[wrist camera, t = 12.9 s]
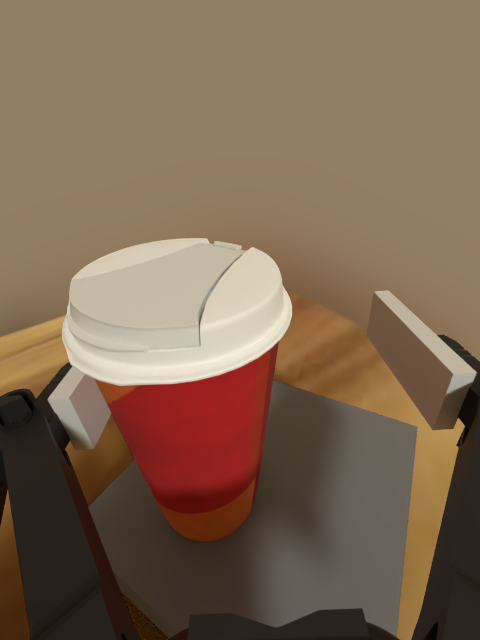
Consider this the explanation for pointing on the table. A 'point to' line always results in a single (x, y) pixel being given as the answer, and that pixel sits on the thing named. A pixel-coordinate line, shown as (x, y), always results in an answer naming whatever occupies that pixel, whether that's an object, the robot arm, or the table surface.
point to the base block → (279, 525)
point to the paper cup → (185, 368)
